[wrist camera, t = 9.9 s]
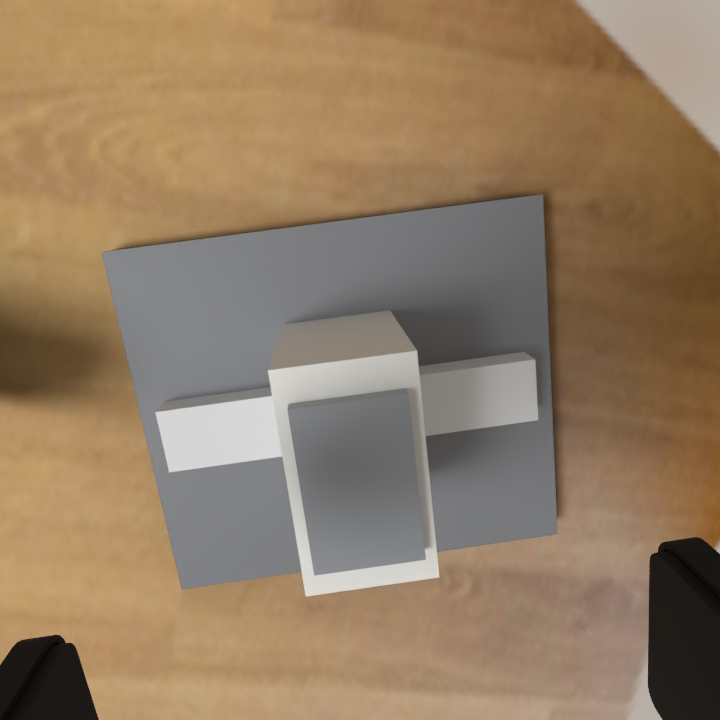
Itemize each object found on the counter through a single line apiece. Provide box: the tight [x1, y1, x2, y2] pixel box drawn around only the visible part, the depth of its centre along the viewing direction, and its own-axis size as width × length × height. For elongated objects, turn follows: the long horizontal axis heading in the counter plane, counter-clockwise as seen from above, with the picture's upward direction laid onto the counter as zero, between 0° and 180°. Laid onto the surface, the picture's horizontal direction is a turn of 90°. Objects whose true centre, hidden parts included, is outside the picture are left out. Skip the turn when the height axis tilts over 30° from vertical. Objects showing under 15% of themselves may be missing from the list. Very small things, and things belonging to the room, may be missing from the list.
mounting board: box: [102, 194, 558, 589], centre depth 22 cm, size 14×16×2 cm
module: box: [268, 310, 439, 596], centre depth 19 cm, size 7×4×7 cm, turn 7°
